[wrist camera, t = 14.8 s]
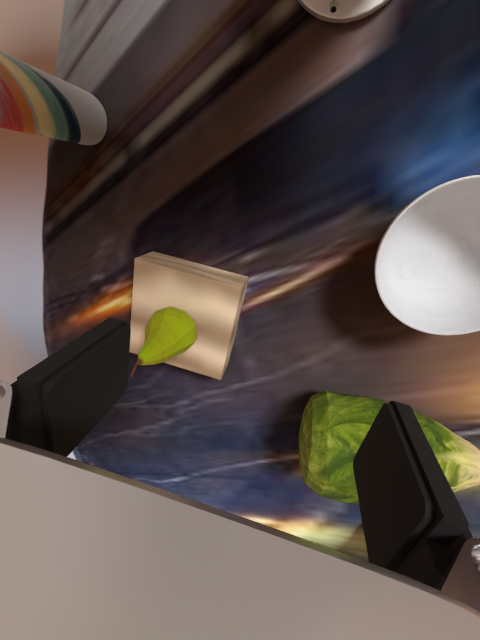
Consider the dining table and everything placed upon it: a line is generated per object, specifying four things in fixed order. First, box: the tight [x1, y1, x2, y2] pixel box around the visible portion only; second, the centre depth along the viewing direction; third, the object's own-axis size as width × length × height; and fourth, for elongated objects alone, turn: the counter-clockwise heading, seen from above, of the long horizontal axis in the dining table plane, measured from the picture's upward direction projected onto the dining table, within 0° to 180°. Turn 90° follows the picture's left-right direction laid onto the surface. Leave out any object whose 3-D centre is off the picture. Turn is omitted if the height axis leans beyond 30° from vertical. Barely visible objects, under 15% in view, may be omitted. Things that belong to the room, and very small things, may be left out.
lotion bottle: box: [0, 52, 107, 145], centre depth 28 cm, size 6×6×20 cm
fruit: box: [130, 306, 197, 377], centre depth 34 cm, size 6×6×12 cm
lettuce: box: [299, 390, 480, 504], centre depth 39 cm, size 14×23×13 cm, turn 89°
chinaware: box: [374, 175, 480, 335], centre depth 31 cm, size 15×15×8 cm
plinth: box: [129, 251, 249, 380], centre depth 42 cm, size 14×14×5 cm
